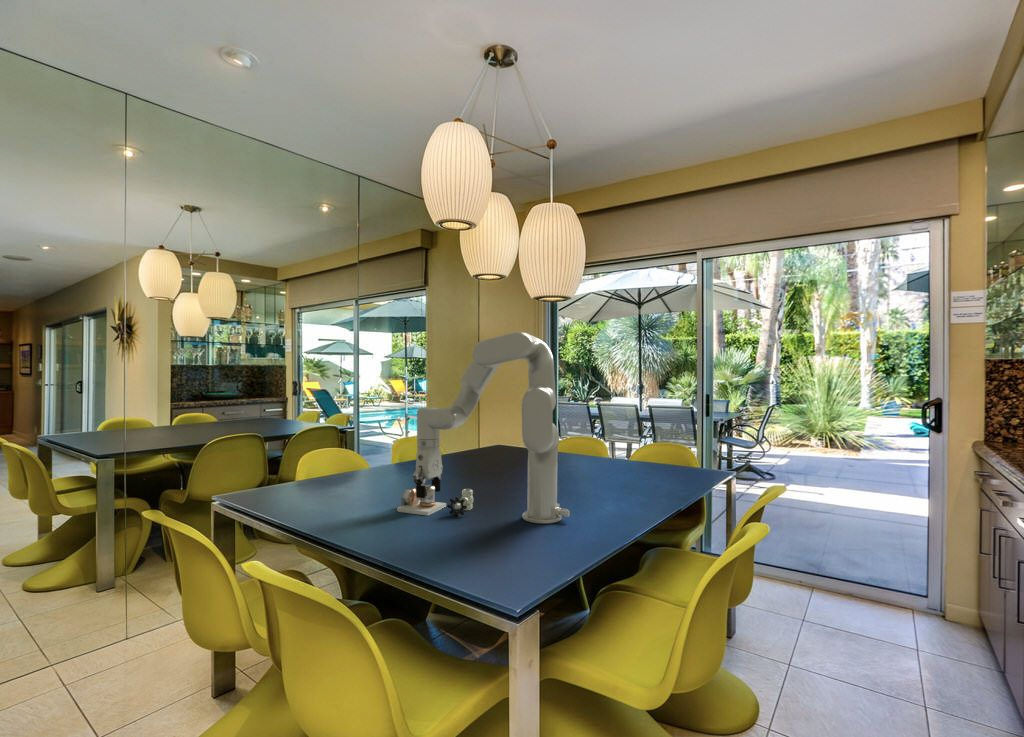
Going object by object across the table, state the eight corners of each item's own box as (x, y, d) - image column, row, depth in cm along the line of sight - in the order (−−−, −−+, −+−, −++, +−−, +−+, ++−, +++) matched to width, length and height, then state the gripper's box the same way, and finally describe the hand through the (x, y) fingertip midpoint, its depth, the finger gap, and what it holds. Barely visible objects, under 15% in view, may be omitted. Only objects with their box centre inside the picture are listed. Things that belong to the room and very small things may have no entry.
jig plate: (446, 506, 174) (446, 502, 174) (427, 515, 163) (428, 511, 163) (416, 503, 178) (416, 499, 178) (396, 511, 167) (396, 507, 167)
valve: (460, 507, 174) (447, 516, 163) (460, 487, 174) (447, 495, 163) (478, 508, 172) (466, 518, 161) (478, 489, 173) (466, 497, 161)
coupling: (438, 504, 171) (438, 485, 171) (430, 508, 166) (430, 488, 166) (424, 502, 173) (425, 484, 173) (416, 506, 168) (416, 487, 168)
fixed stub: (419, 506, 174) (419, 487, 174) (409, 510, 169) (410, 490, 169) (410, 504, 176) (410, 486, 176) (400, 509, 170) (400, 489, 170)
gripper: (424, 447, 161) (424, 501, 160) (450, 441, 177) (450, 489, 176) (404, 446, 163) (404, 499, 163) (432, 440, 179) (432, 488, 179)
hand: (428, 494), depth 170 cm, fingers open, 9 cm apart
